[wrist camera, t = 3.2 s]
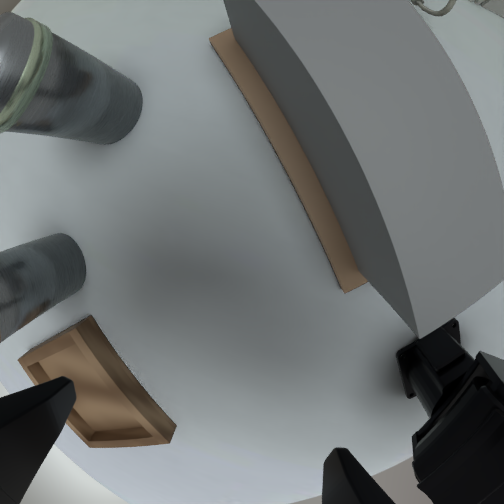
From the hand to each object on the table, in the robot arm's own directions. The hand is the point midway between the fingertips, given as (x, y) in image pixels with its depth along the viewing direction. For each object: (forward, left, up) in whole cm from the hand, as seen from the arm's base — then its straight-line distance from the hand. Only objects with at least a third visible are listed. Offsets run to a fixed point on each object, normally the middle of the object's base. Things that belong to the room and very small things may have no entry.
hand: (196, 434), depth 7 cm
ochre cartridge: (+9, +13, -13) cm, 20 cm away
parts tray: (-4, +20, -13) cm, 24 cm away
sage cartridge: (+17, +2, -13) cm, 21 cm away
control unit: (+7, -11, -13) cm, 18 cm away
